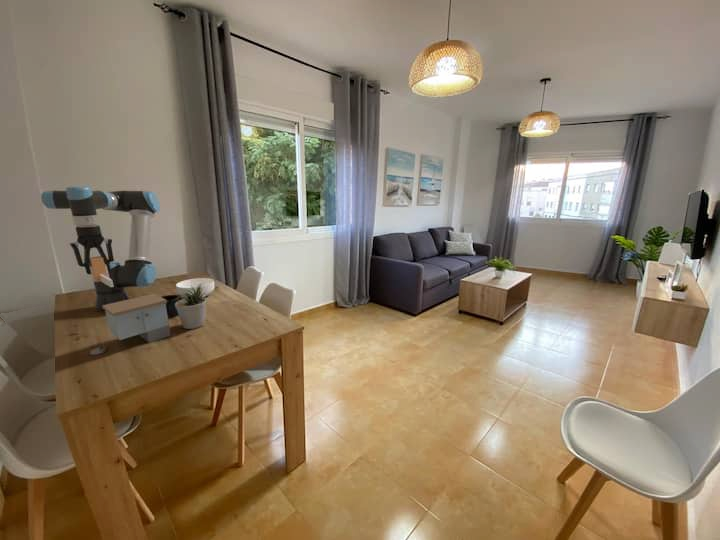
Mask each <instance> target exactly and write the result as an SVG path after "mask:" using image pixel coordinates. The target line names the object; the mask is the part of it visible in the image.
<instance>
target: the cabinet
mask: <svg viewBox="0 0 720 540" xmlns="http://www.w3.org/2000/svg"><path fill="white" fill-rule="evenodd" d="M165 303H167V300H166V299H164V298H162V296H159V294H156V293H152V294H146V295H143V296H139V297H138V296H137V297H133V298H130V299H129V300H124V301H120V302H115V303H111V304H106V305H102V307H103V309H104V310H105V311H104V312H105V316H106V320H107V324H108V329H109V332H110V333H111V334H112V335H113V336H114V337H115V338H117V339H118V340H119V341H121V340H124V339H127V338H128V339H129V338H131V337H134V336H137V335H138V336H140V337H141V338H142V339H144V340H145V341H146V342H148V343H149V344H150V343H153V342H156V341H160V340H162V339H165V338H168V337H171V329H170V322H169V318H168V316H167V310H166V304H165Z"/></svg>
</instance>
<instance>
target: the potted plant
mask: <svg viewBox="0 0 720 540" xmlns="http://www.w3.org/2000/svg"><path fill="white" fill-rule="evenodd" d="M190 286H191V285H190ZM191 287H192V286H191ZM192 289H193V290H194V288H193V287H192ZM202 289H203V287H202ZM202 289H201V285H200V284H199V286H197V291H196V292H195V290H194V294H193V293H192V292H190V291H189V292H190V293H191V294H192V295H190V294H189V293H187V292H186V291H188V290H186V291H185V289H184V291H185V292H186V293H184V294H178V293H177V296H179V298H181V300H180V299H179V301H178V302H176V303H175V307H176V309H177V311H178V314H179V315H178V317H179V320H180V323H181V325H182V327H183V328H184V329H187V330H194V329H198V328H201V327H203V326H204V325H205V323H206V309H207V306H206V305H207V299H206V297H207V296H208V295H206V296H205V297H202V296H203V295H204V293H203V292H202V295H201V291H202ZM182 290H183V289H182ZM200 290H201V291H200ZM181 293H183V292H181ZM181 295H182V296H183V295H185V296H184V297H185V298H184V297H182V296H181ZM200 295H201V296H200ZM186 296H187V297H186ZM201 297H202V298H201Z"/></svg>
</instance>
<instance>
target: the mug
mask: <svg viewBox="0 0 720 540" xmlns="http://www.w3.org/2000/svg"><path fill="white" fill-rule="evenodd" d="M179 296H180V295H178V294H168V295H167V294H166V295H163V296H161V297H162V298H164V299H166V300H167V303H165V304H166V310H167V316H168V319H173V318H176V317H179V314H178V311H177V309H176V307H175V303H176V302H178V301H180V297H179Z"/></svg>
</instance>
